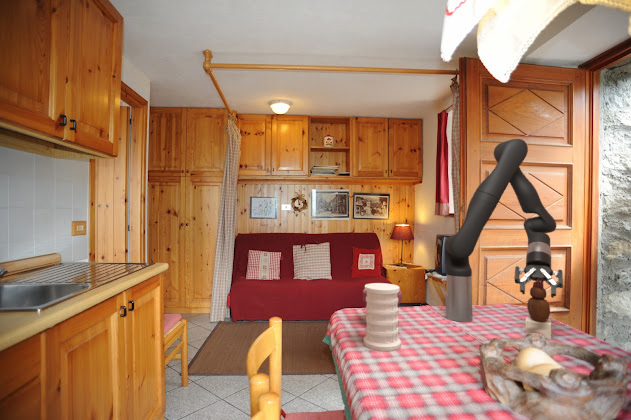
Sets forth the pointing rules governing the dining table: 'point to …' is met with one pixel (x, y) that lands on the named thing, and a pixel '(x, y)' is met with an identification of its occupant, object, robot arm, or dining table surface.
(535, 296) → the wooden figurine
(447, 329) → the dining table surface
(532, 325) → the limewashed block
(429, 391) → the dining table surface
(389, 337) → the decorative container
